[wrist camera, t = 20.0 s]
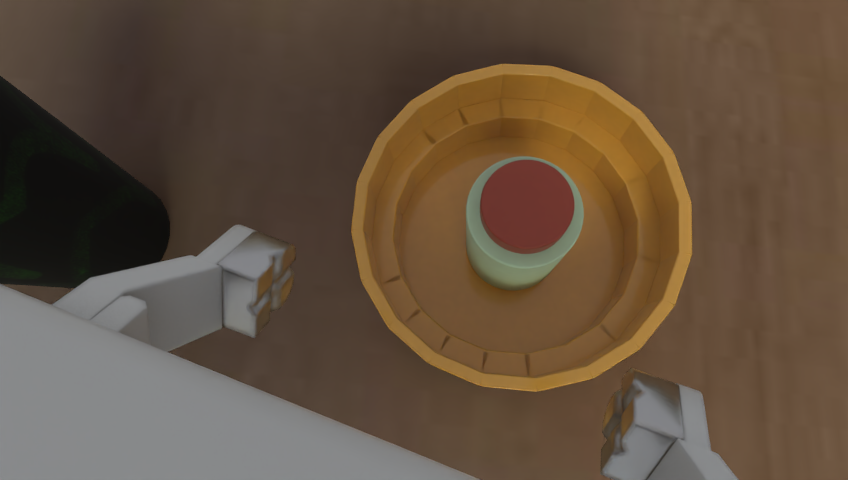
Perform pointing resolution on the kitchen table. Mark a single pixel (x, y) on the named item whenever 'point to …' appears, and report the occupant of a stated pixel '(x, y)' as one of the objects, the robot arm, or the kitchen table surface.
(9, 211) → the cup
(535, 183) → the container
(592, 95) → the bowl
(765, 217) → the kitchen table surface
